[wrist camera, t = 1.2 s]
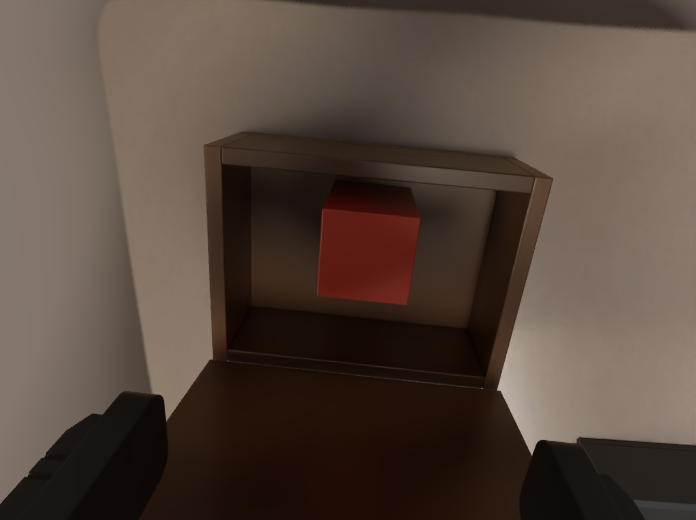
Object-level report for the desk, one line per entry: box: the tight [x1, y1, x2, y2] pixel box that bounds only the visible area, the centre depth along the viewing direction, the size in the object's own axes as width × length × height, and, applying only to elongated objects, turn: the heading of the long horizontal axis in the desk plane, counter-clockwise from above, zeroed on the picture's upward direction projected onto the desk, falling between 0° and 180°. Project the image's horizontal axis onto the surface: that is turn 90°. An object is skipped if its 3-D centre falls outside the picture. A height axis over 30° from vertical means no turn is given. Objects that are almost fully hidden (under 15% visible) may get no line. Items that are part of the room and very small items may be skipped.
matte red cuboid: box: [317, 181, 421, 305], centre depth 23 cm, size 4×4×6 cm
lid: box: [139, 360, 532, 520], centre depth 18 cm, size 12×16×5 cm
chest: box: [204, 132, 553, 390], centre depth 24 cm, size 12×16×6 cm
